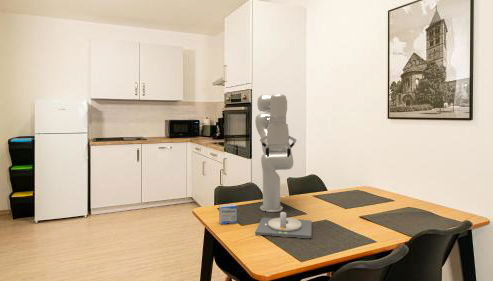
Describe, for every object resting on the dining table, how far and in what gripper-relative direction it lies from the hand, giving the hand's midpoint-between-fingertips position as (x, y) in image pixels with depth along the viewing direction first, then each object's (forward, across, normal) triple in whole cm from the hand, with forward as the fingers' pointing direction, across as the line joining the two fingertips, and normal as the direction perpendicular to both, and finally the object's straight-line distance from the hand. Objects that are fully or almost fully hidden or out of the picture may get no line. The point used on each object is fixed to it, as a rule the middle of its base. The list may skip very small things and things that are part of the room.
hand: (278, 156), depth 154 cm
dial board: (+32, +4, -8) cm, 34 cm away
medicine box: (+33, -24, -4) cm, 41 cm away
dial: (+30, +4, -9) cm, 32 cm away
